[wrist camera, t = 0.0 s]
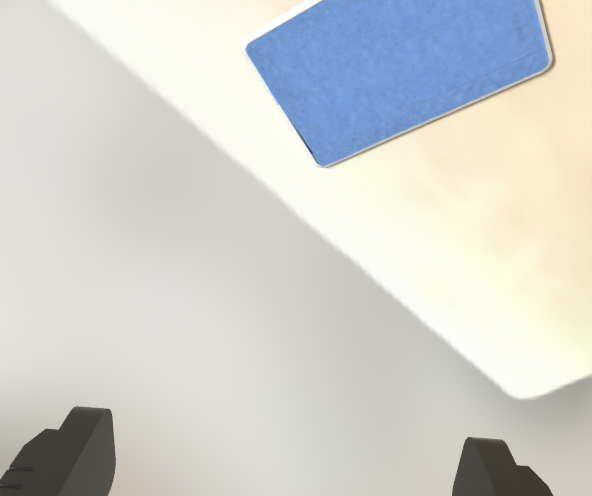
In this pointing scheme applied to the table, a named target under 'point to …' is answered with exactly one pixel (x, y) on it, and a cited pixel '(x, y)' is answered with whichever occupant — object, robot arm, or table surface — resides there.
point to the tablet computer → (390, 65)
